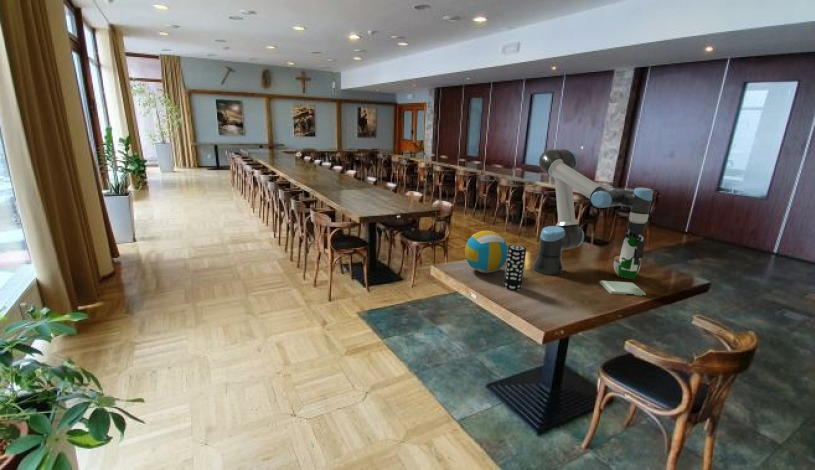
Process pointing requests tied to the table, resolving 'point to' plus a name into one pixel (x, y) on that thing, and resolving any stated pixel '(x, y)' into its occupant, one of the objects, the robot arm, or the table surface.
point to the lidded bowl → (616, 263)
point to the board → (621, 288)
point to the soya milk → (627, 258)
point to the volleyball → (486, 251)
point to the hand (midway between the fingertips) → (628, 267)
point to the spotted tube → (514, 267)
